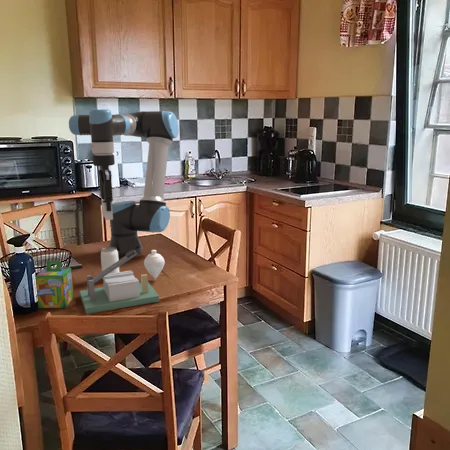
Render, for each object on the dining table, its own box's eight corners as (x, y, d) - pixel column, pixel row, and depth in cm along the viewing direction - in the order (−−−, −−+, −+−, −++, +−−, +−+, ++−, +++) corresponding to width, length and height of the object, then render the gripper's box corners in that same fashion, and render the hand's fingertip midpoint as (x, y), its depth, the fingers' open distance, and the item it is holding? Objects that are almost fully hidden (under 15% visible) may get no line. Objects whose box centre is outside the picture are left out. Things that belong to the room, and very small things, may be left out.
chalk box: (38, 309, 154) (33, 266, 150) (47, 298, 163) (43, 257, 159) (66, 308, 154) (61, 266, 150) (74, 297, 163) (70, 257, 159)
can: (123, 276, 183) (121, 247, 180) (113, 282, 177) (111, 252, 174) (108, 275, 185) (106, 245, 182) (99, 280, 179) (96, 250, 176)
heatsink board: (80, 296, 164) (78, 271, 162) (147, 285, 173) (146, 262, 171) (86, 314, 150) (83, 287, 148) (159, 301, 159) (157, 276, 157)
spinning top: (166, 282, 176) (165, 252, 173) (146, 285, 174) (144, 254, 171) (163, 275, 183) (162, 246, 180) (143, 278, 181) (142, 248, 178)
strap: (89, 282, 158) (86, 279, 157) (135, 251, 162) (133, 248, 161) (90, 285, 155) (88, 282, 154) (138, 254, 159) (135, 251, 158)
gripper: (89, 152, 173) (94, 214, 178) (95, 156, 157) (101, 224, 163) (109, 151, 175) (114, 212, 181) (118, 155, 160) (122, 222, 166)
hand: (107, 218), depth 172 cm, fingers open, 4 cm apart
